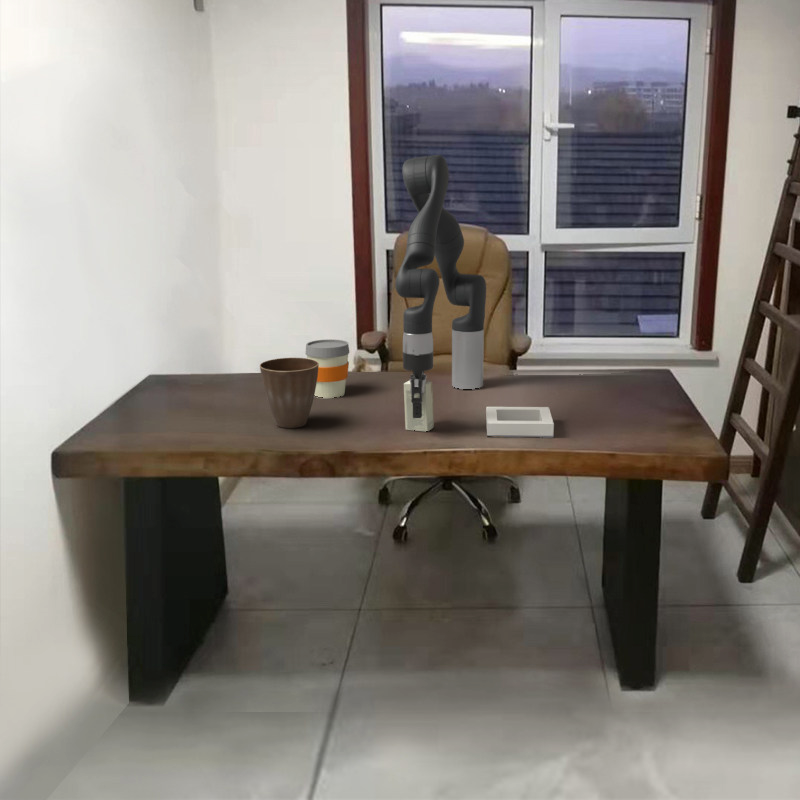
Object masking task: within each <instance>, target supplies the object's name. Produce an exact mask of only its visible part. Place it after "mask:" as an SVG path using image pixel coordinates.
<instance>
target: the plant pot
mask: <svg viewBox="0 0 800 800" xmlns="http://www.w3.org/2000/svg"><path fill="white" fill-rule="evenodd" d="M318 367H319V363H318V362H317V361H316V360H312V359H307V358H305V357H281V358H274V359H269V360H266V361H263V362H260V364H259V370H260V374H261V380H262V385H263V388H264V393H265V396H266V398H267V402H268V405H269V408H270V410H271V413H272V416H273V418H274V421H275V423H276V425H277V426H278V427H280V428H286V429H295V428H297V429H298V428H301V427H303V426H305V425H306V424H307V422H308V419H309V416H310V414H311V413H310V412H311V409H312V406H313V402H314V398H315V396H314V394H315V389H316V384H317V377H318Z"/></svg>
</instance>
